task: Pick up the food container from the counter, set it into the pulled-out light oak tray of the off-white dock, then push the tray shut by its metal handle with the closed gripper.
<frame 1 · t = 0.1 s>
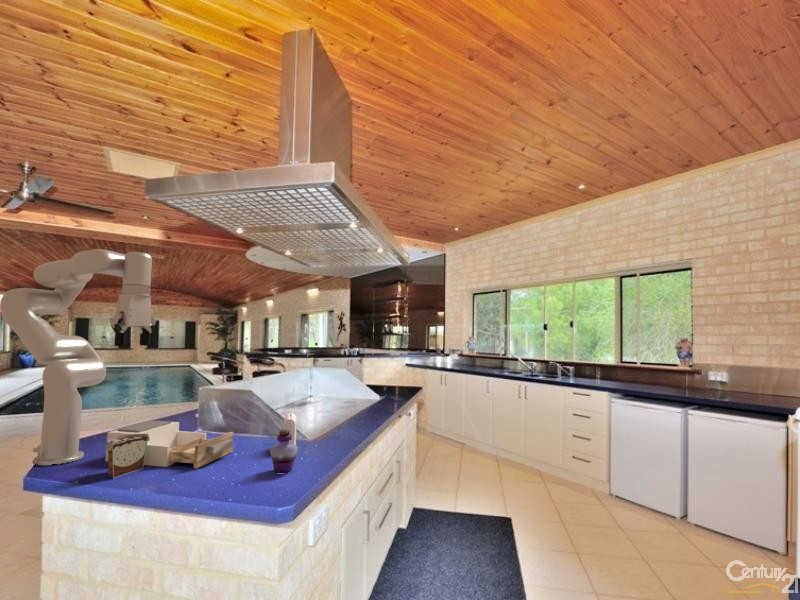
hand: (132, 345, 129), 37 cm above the countertop, tool pointing down, fingers open, 9 cm apart
sliding tray: (203, 447, 134), point 4 cm above the countertop, slide at 9.0 cm
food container: (120, 473, 120), on the countertop
dock: (157, 455, 137), on the countertop
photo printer: (289, 449, 148), on the countertop
potion bottle: (282, 472, 124), on the countertop
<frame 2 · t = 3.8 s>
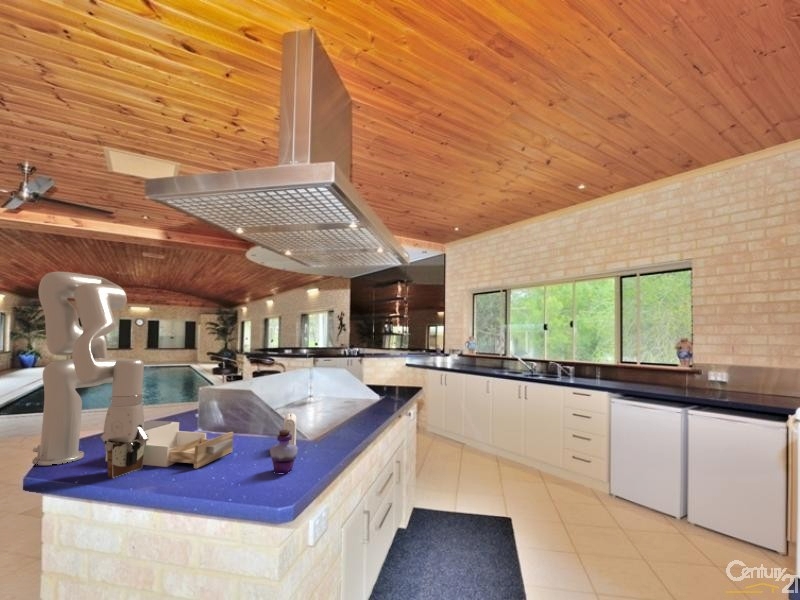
hand: (122, 463, 120), 2 cm above the countertop, tool pointing down, fingers closed on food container, 5 cm apart
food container: (119, 472, 120), on the countertop, touching gripper
everything else where it was.
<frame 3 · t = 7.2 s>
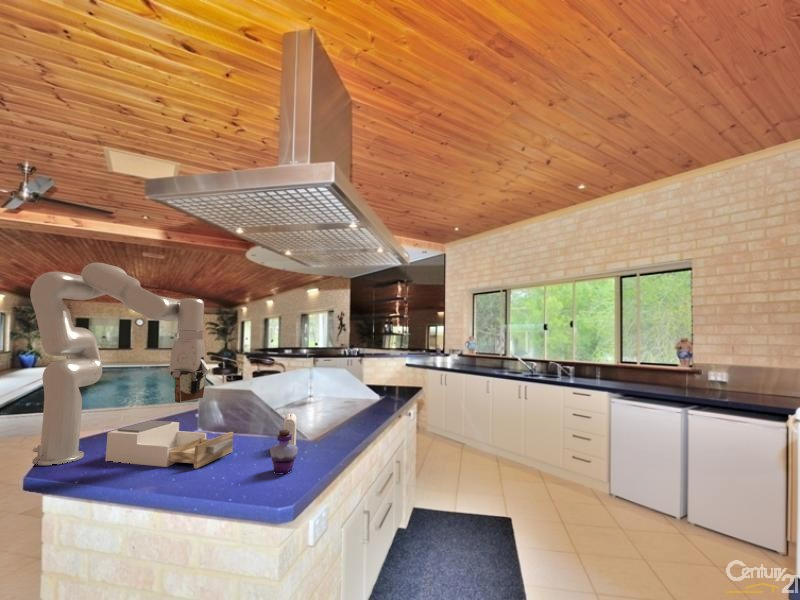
hand: (187, 392, 133), 22 cm above the countertop, tool pointing down, fingers closed on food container, 5 cm apart
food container: (184, 400, 133), point 19 cm above the countertop, touching gripper
everything else where it was.
when the fingers open (6 cm above the countertop, at t = 11.0 s): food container drops 1 cm, resting on sliding tray.
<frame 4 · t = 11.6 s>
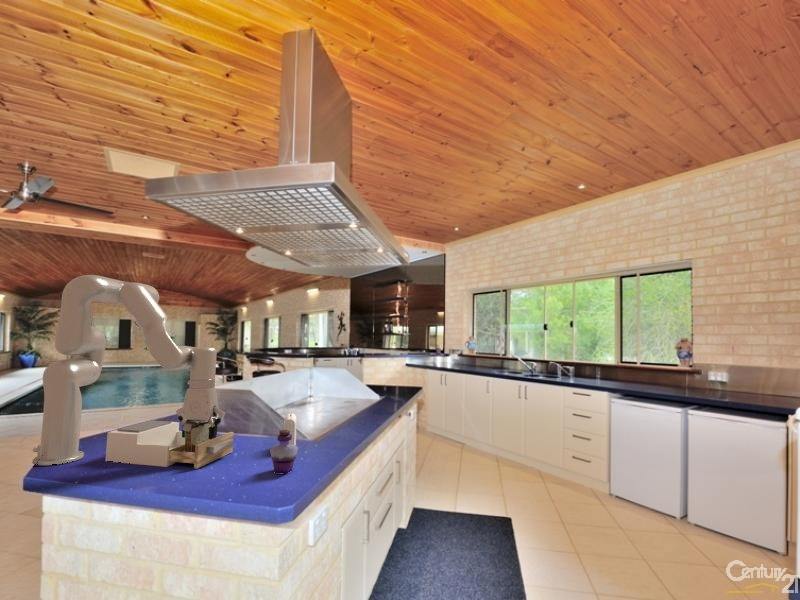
hand: (199, 437, 135), 7 cm above the countertop, tool pointing down, fingers open, 9 cm apart
sliding tray: (203, 447, 134), point 4 cm above the countertop, slide at 9.1 cm, touching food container
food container: (194, 452, 134), point 2 cm above the countertop, touching sliding tray
everything else where it was.
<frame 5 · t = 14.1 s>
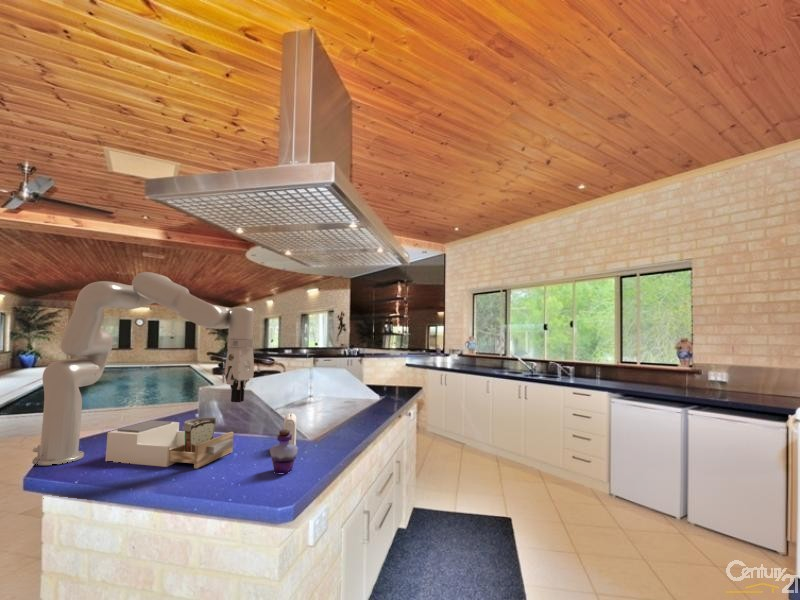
hand: (237, 401, 133), 19 cm above the countertop, tool pointing down, fingers closed
nothing on the countertop moved.
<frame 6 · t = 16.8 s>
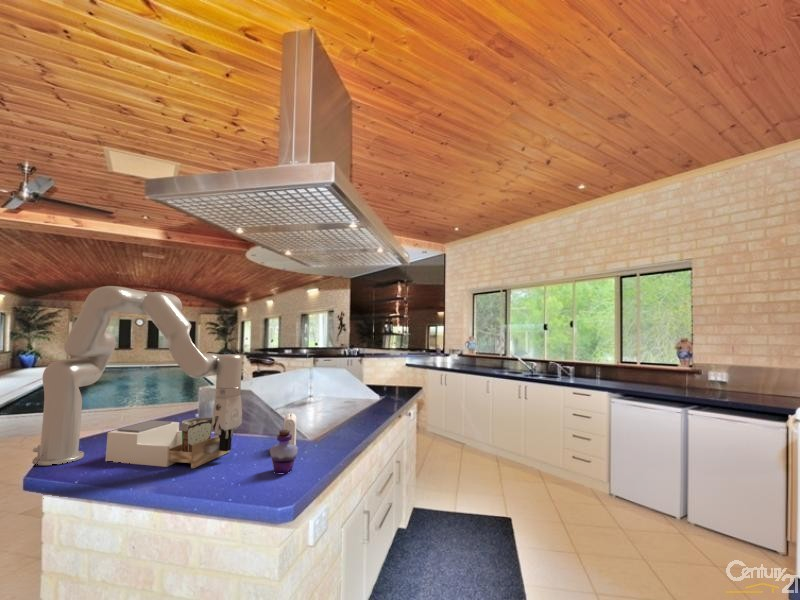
hand: (225, 450, 132), 3 cm above the countertop, tool pointing down, fingers closed
sliding tray: (200, 447, 134), point 4 cm above the countertop, slide at 8.0 cm, touching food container, gripper
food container: (191, 451, 135), point 2 cm above the countertop, touching sliding tray
everything else where it was.
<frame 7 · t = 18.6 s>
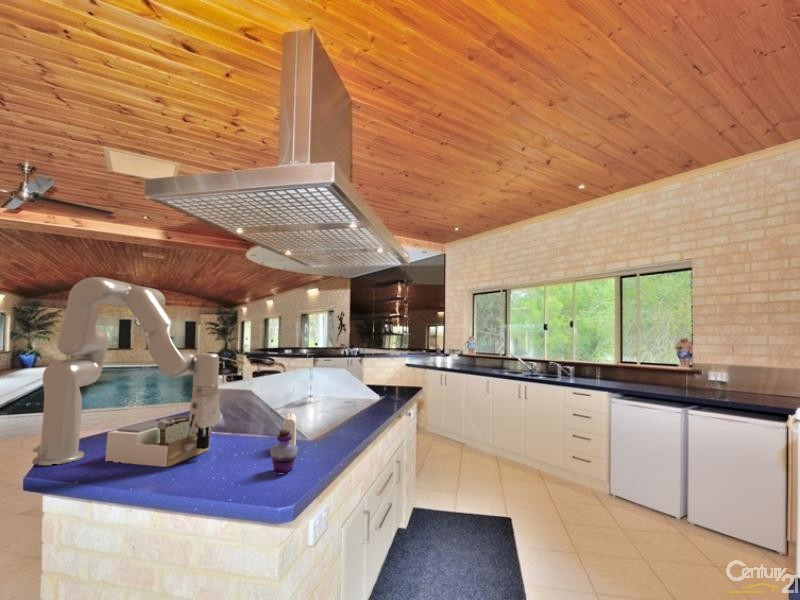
hand: (202, 447, 134), 4 cm above the countertop, tool pointing down, fingers closed
sliding tray: (178, 446, 136), point 4 cm above the countertop, slide at -0.1 cm, touching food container, gripper
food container: (169, 450, 136), point 2 cm above the countertop, touching sliding tray
everything else where it was.
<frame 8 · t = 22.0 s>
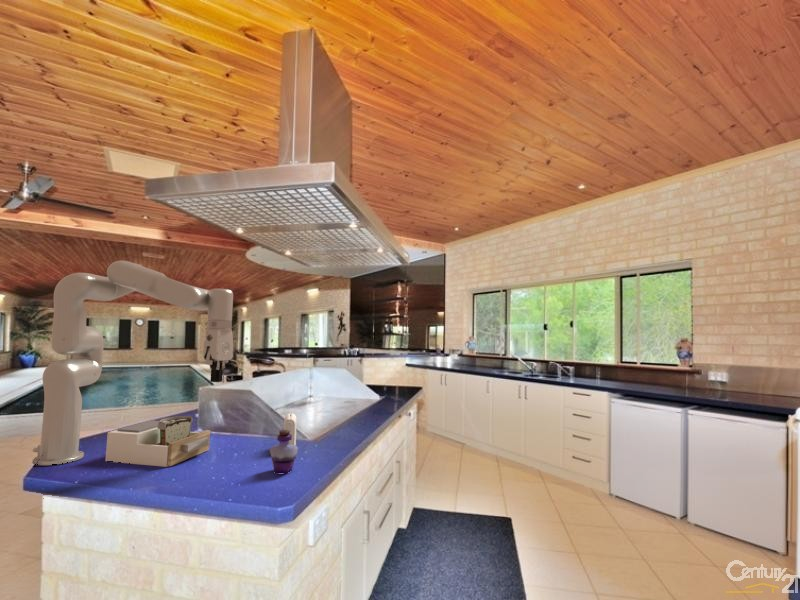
hand: (216, 381, 135), 25 cm above the countertop, tool pointing down, fingers closed
sliding tray: (179, 446, 136), point 4 cm above the countertop, slide at 0.0 cm, touching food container
everything else where it was.
at the end: sliding tray slide at 0.0 cm; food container inside the target area on the dock (4.4 cm from its centre), point 2.1 cm above the dock's base; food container tilted 0° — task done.
